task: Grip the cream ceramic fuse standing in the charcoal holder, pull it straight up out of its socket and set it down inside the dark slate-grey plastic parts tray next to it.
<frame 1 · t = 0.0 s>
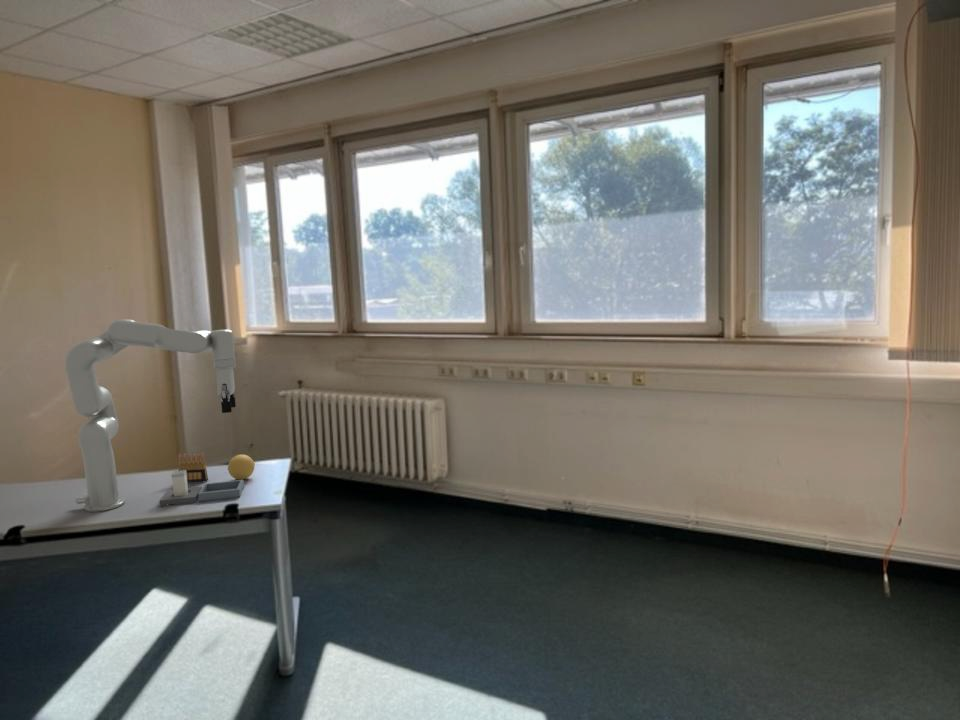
hand: (229, 409, 239), 31 cm above the table, tool pointing down, fingers open, 9 cm apart
parts tray: (222, 494, 241), on the table
fuse: (180, 485, 238), in the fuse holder
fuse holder: (181, 498, 238), on the table
ammunition clip: (193, 482, 259), on the table
stress ball: (242, 479, 259), on the table
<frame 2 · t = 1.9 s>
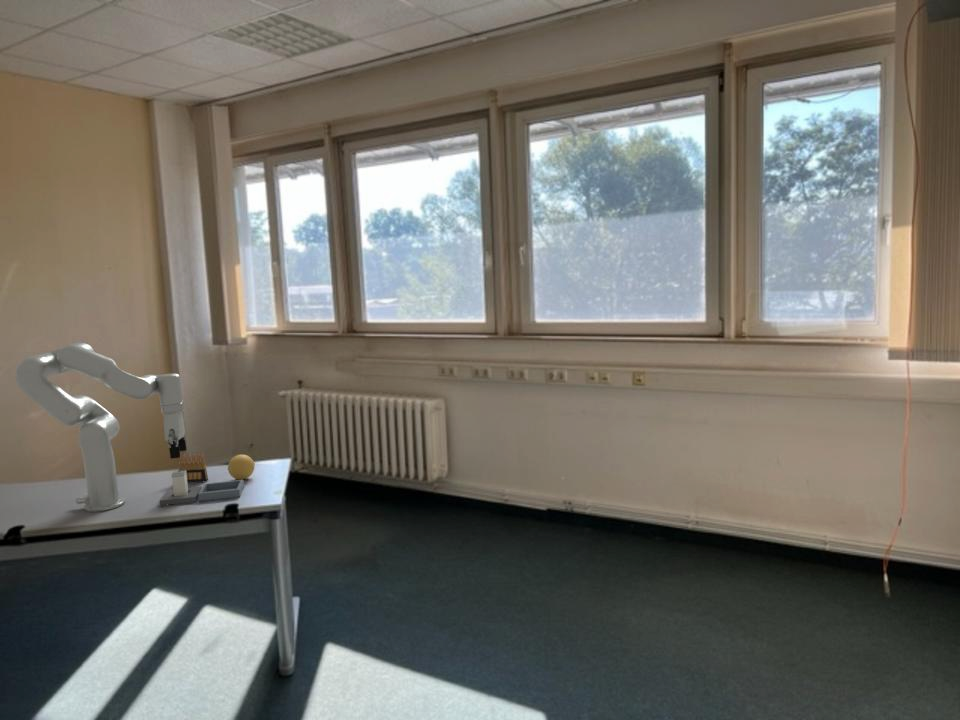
hand: (178, 454, 236), 17 cm above the table, tool pointing down, fingers open, 9 cm apart
nothing on the table moved.
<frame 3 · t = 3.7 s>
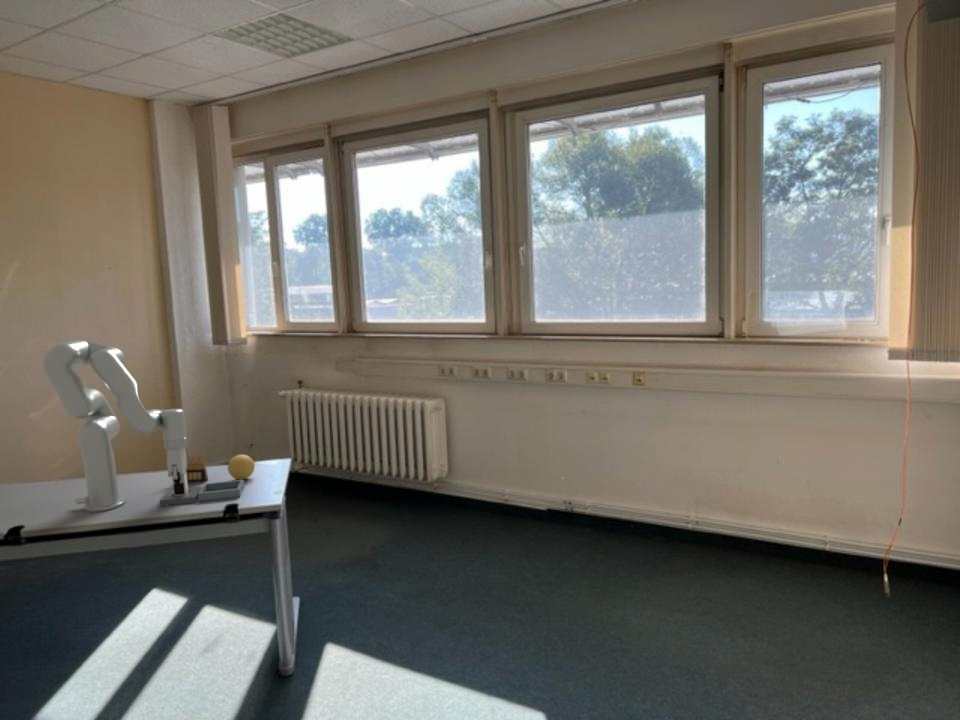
hand: (181, 491, 238), 3 cm above the table, tool pointing down, fingers closed on fuse, 3 cm apart
fuse: (180, 485, 238), in the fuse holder, touching gripper
everything else where it was.
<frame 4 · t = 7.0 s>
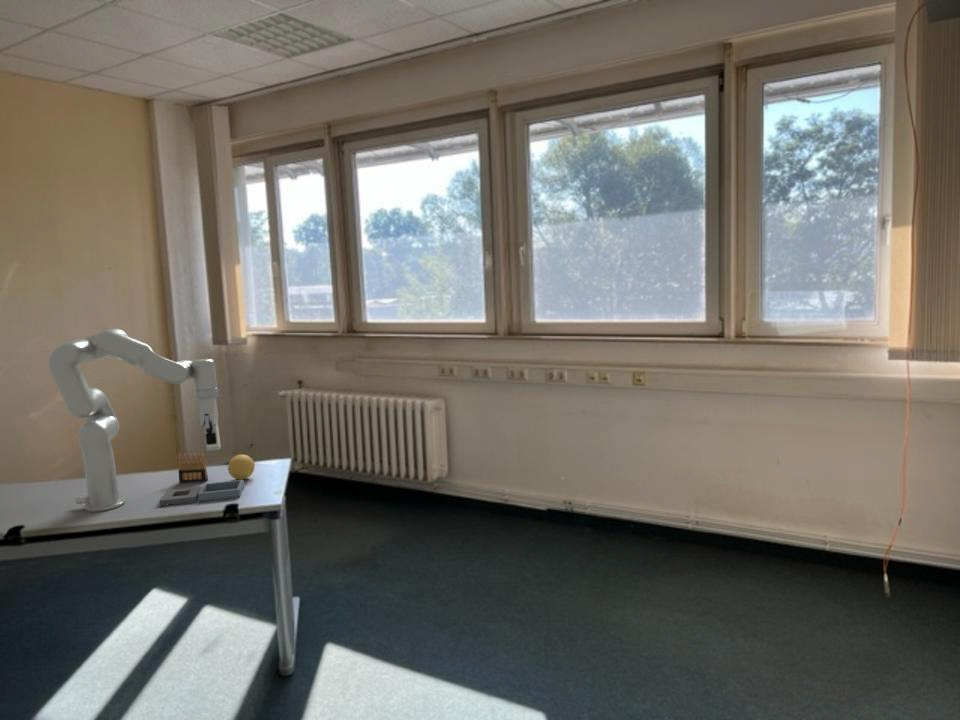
hand: (212, 442, 239), 20 cm above the table, tool pointing down, fingers closed on fuse, 3 cm apart
fuse: (212, 435, 238), point 22 cm above the table, touching gripper
everything else where it was.
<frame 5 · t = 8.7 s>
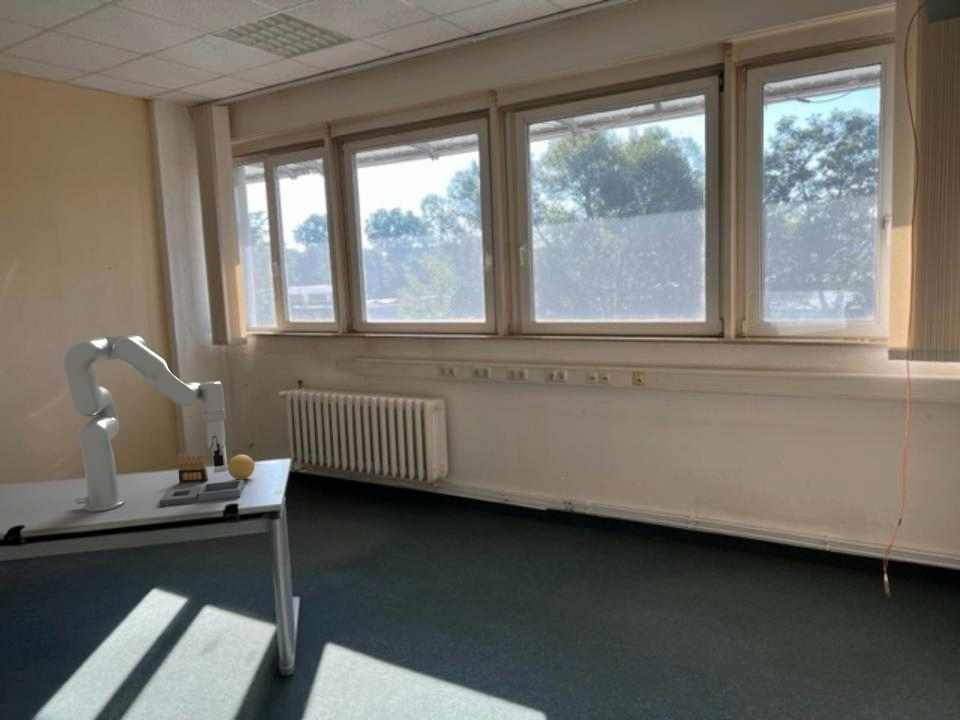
hand: (220, 463, 240), 12 cm above the table, tool pointing down, fingers closed on fuse, 3 cm apart
fuse: (219, 457, 240), point 14 cm above the table, touching gripper
everything else where it was.
when the fingers open (5 cm above the table, at t = 10.2 s): fuse drops 2 cm, resting on parts tray.
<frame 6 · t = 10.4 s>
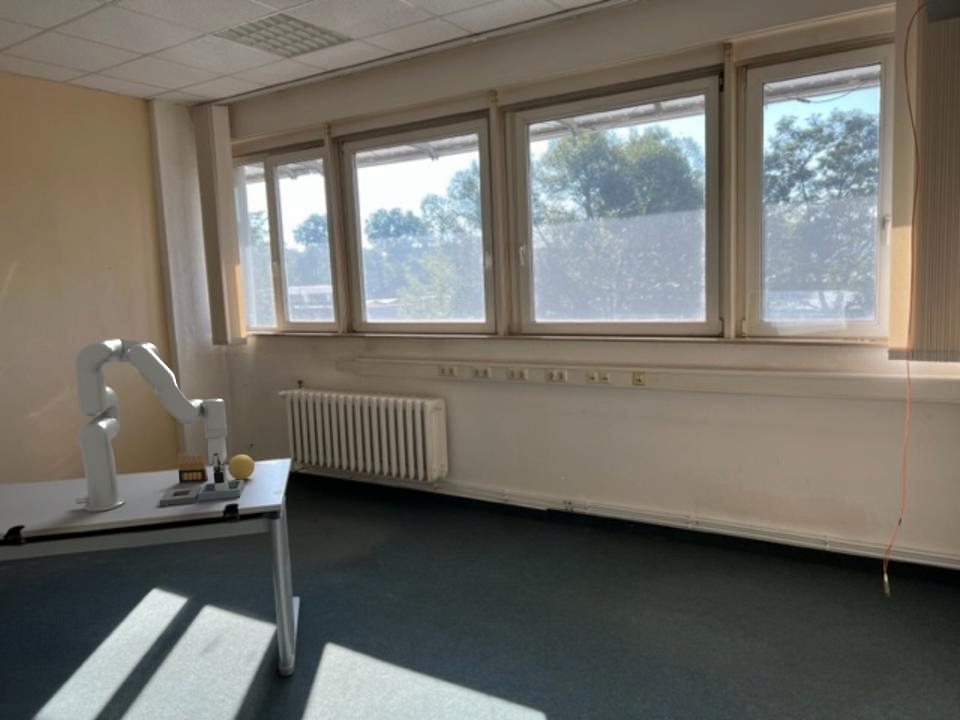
hand: (220, 479, 241), 6 cm above the table, tool pointing down, fingers open, 6 cm apart
fuse: (221, 479, 241), in the parts tray
everything else where it was.
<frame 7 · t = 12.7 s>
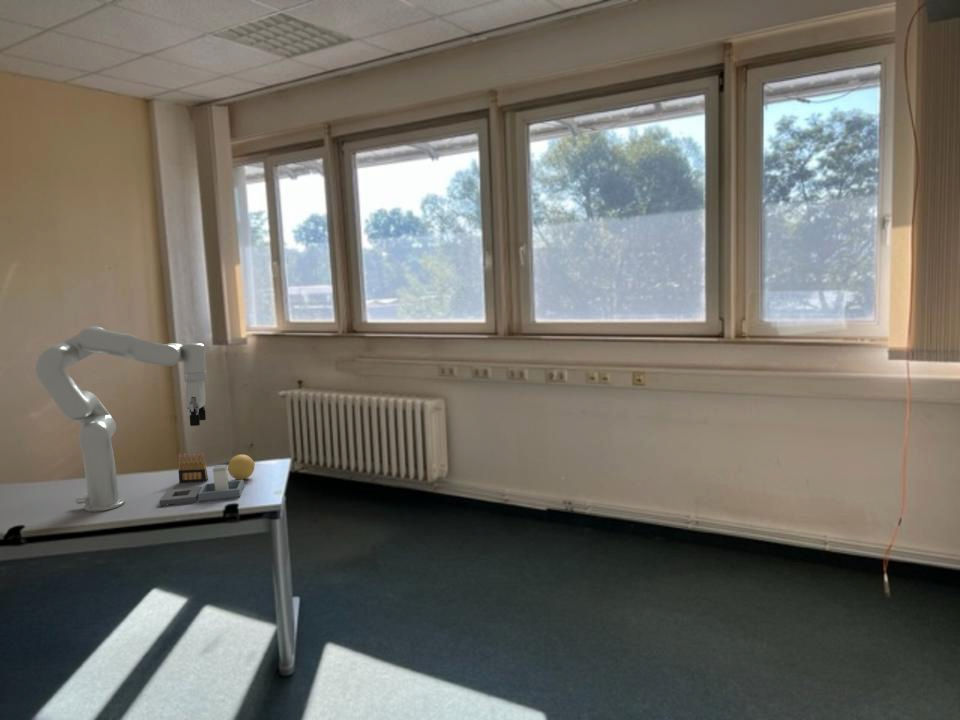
hand: (198, 422, 241), 27 cm above the table, tool pointing down, fingers open, 9 cm apart
nothing on the table moved.
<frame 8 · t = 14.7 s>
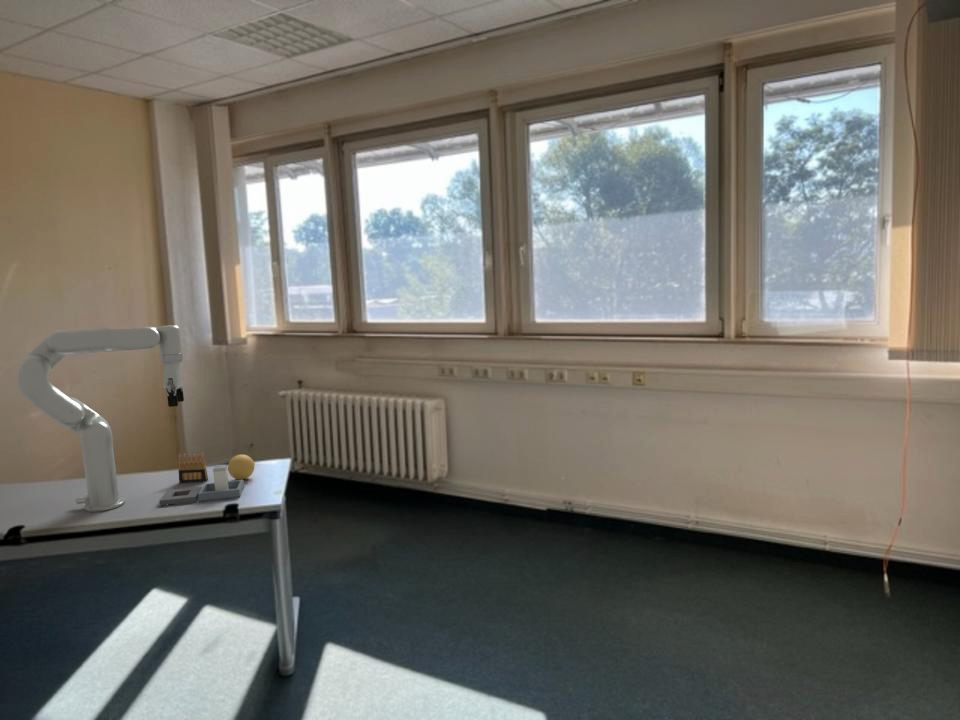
hand: (176, 403, 245), 33 cm above the table, tool pointing down, fingers open, 9 cm apart
nothing on the table moved.
at the end: fuse inside the target area on the parts tray (0.1 cm from its centre), point 5.5 cm above the parts tray's base; the gripper is holding nothing; fuse touching parts tray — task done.
